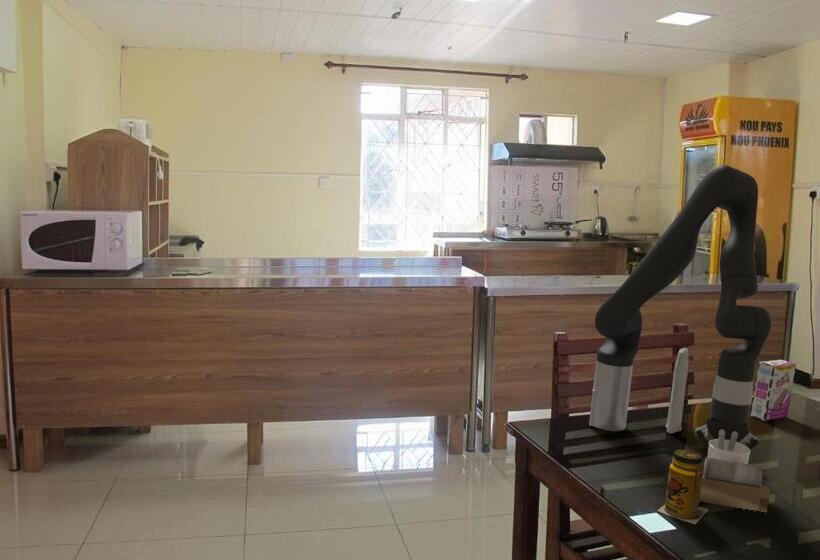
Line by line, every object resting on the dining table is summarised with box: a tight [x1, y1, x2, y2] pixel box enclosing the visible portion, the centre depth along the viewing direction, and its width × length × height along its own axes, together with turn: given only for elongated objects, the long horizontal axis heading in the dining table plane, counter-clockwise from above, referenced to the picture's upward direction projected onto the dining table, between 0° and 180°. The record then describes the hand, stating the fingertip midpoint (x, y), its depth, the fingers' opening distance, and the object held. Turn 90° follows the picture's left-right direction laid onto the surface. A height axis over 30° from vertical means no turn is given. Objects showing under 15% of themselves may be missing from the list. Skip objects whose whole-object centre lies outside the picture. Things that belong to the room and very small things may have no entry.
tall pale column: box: [665, 347, 689, 435], centre depth 181 cm, size 11×4×22 cm, turn 148°
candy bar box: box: [749, 359, 797, 422], centre depth 198 cm, size 11×5×16 cm, turn 120°
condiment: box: [656, 449, 709, 525], centre depth 134 cm, size 7×8×12 cm
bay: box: [699, 457, 775, 513], centre depth 145 cm, size 18×14×9 cm
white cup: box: [707, 438, 751, 464], centre depth 144 cm, size 8×8×10 cm
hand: (720, 474), depth 149 cm, fingers closed
